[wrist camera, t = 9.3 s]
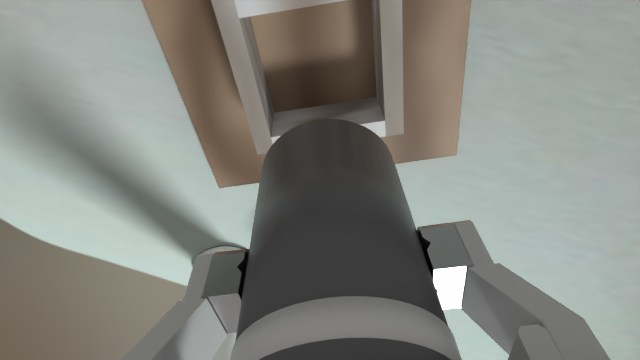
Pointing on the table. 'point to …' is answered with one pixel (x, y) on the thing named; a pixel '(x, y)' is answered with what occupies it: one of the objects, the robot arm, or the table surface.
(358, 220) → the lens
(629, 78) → the table surface
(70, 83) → the table surface
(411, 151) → the mount base
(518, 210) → the table surface
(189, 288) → the robot arm
